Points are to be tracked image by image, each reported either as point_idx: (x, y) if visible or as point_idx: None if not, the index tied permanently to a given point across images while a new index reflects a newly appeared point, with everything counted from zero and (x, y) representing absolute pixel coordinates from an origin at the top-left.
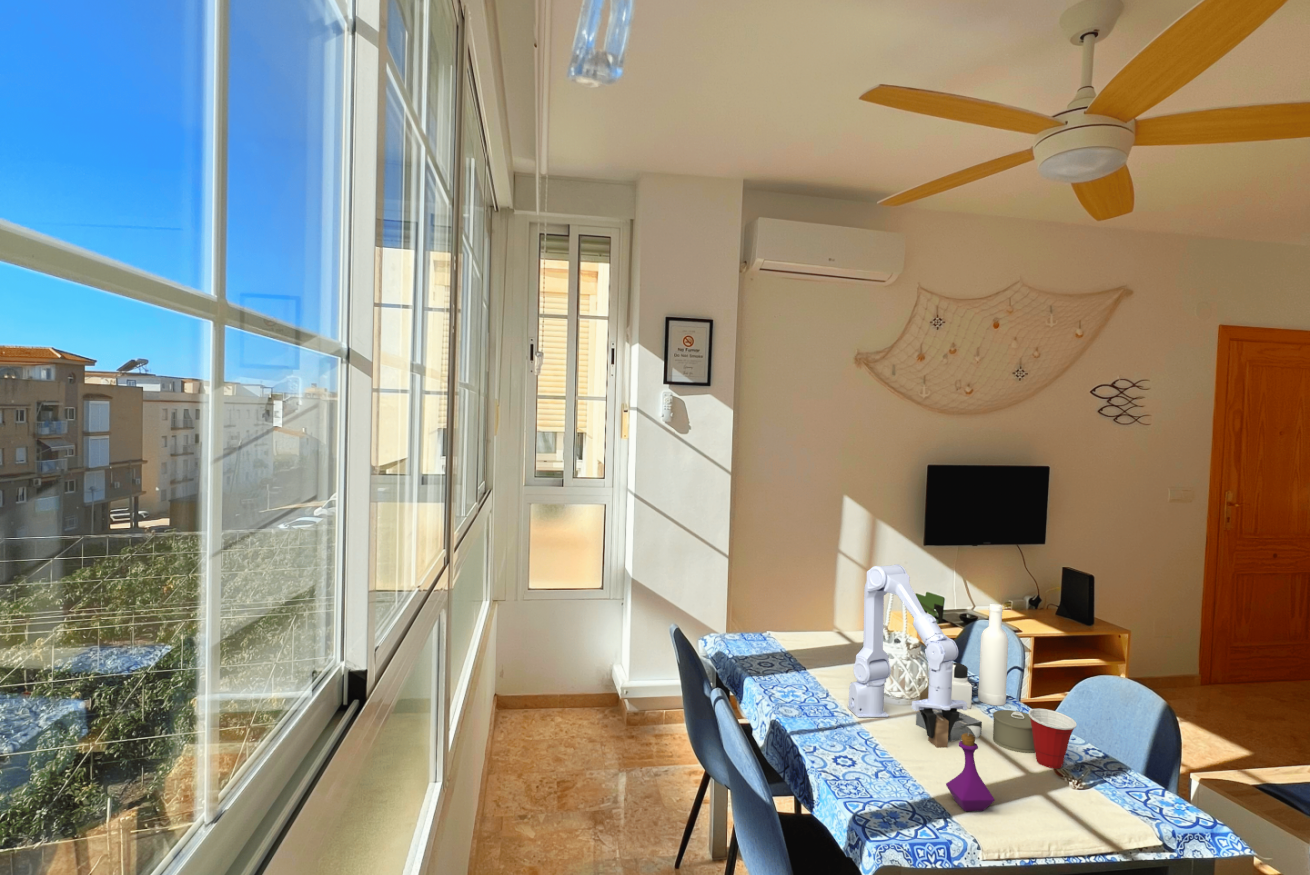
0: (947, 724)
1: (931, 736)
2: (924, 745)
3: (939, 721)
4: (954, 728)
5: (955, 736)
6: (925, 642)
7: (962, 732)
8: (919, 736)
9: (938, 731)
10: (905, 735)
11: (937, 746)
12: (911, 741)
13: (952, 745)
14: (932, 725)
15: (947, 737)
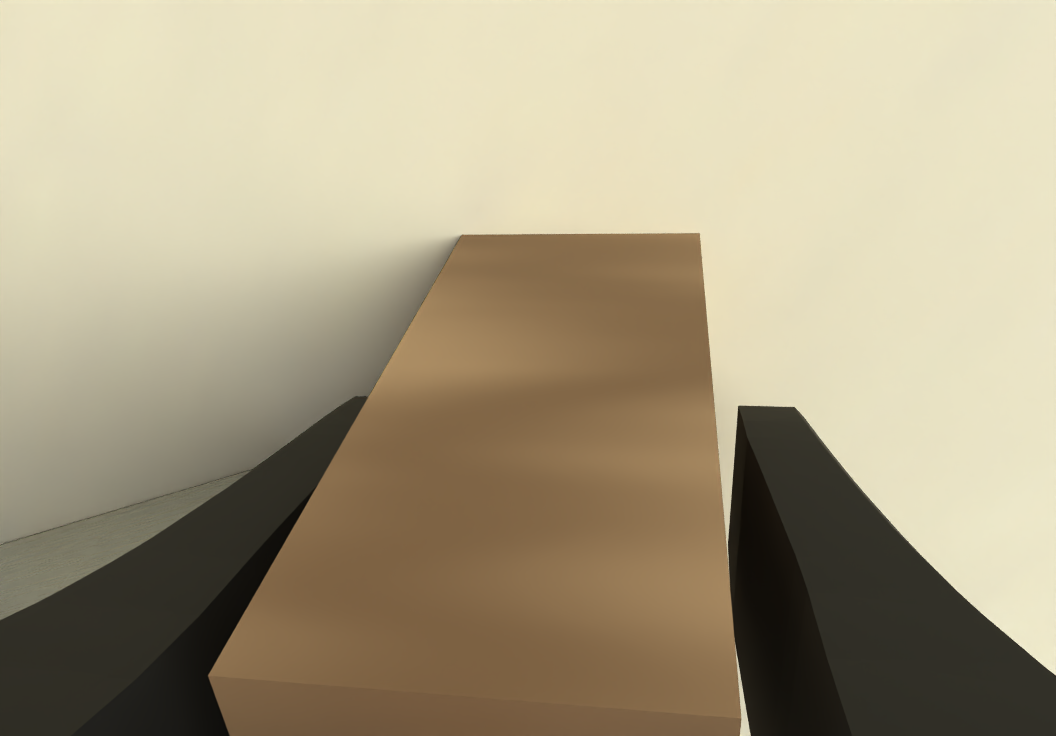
0: (312, 565)
1: (802, 421)
2: (902, 344)
3: (651, 694)
4: None
5: None
6: None
7: (22, 591)
8: None
9: (677, 426)
10: None
11: (684, 241)
12: (1048, 512)
13: (326, 314)
14: (897, 612)
15: (417, 331)
